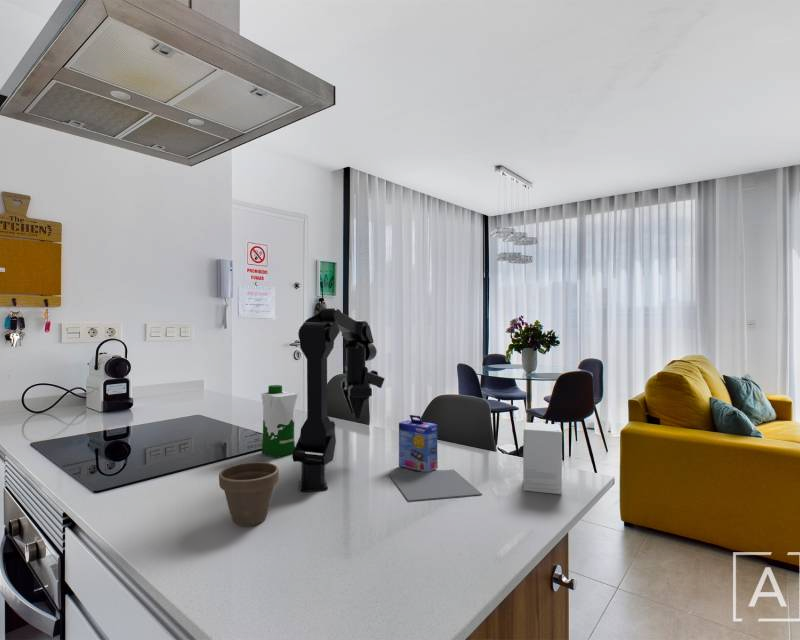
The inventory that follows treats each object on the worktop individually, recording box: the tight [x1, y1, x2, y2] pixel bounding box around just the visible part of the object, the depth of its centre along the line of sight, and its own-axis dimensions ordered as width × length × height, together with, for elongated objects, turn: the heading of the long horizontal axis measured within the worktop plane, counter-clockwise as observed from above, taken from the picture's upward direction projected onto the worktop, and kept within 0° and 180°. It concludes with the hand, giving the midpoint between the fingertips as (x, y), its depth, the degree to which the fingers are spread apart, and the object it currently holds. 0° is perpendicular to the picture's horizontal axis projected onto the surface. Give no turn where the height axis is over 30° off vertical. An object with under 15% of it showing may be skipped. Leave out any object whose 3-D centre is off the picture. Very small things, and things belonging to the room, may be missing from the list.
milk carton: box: [260, 384, 299, 459], centre depth 140 cm, size 9×9×20 cm
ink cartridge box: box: [398, 414, 439, 472], centre depth 128 cm, size 10×6×14 cm, turn 53°
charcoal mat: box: [389, 469, 483, 503], centre depth 115 cm, size 18×18×1 cm
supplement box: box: [522, 421, 563, 495], centre depth 115 cm, size 9×9×15 cm
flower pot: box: [218, 461, 280, 527], centre depth 94 cm, size 12×11×10 cm
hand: (354, 416), depth 138 cm, fingers open, 7 cm apart
